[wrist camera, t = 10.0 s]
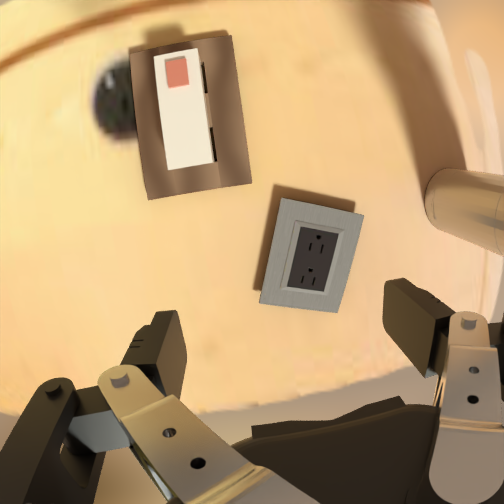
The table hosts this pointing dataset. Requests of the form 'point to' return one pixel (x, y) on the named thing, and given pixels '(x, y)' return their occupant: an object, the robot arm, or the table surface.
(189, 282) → the table surface
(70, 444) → the robot arm
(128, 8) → the table surface
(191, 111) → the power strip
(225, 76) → the brown wooden slotted board
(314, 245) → the electrical outlet
